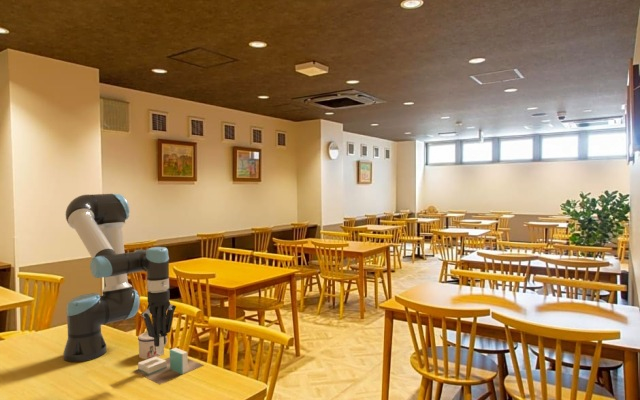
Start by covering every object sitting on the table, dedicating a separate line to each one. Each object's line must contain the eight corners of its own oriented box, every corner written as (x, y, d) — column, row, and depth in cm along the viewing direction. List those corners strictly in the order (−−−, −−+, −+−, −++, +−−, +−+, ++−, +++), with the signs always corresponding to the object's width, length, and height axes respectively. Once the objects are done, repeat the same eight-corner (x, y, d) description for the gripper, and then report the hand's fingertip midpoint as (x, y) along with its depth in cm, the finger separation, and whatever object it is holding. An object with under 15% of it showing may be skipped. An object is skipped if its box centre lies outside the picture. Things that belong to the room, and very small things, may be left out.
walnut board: (133, 375, 150) (132, 371, 150) (177, 358, 165) (177, 354, 165) (159, 388, 140) (159, 384, 140) (204, 369, 154) (204, 365, 154)
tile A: (155, 362, 157) (138, 369, 151) (155, 356, 157) (137, 362, 151) (166, 367, 153) (148, 374, 147) (166, 360, 153) (148, 367, 147)
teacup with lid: (148, 365, 159) (147, 334, 158) (133, 359, 164) (132, 330, 163) (174, 353, 169) (173, 325, 168) (160, 349, 174) (159, 321, 173)
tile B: (170, 369, 152) (169, 349, 151) (176, 366, 154) (175, 347, 153) (181, 374, 147) (181, 354, 147) (187, 371, 149) (187, 352, 149)
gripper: (147, 295, 146) (149, 362, 147) (180, 287, 157) (181, 350, 158) (135, 292, 151) (137, 357, 152) (168, 285, 161) (169, 345, 162)
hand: (160, 353), depth 155 cm, fingers closed
